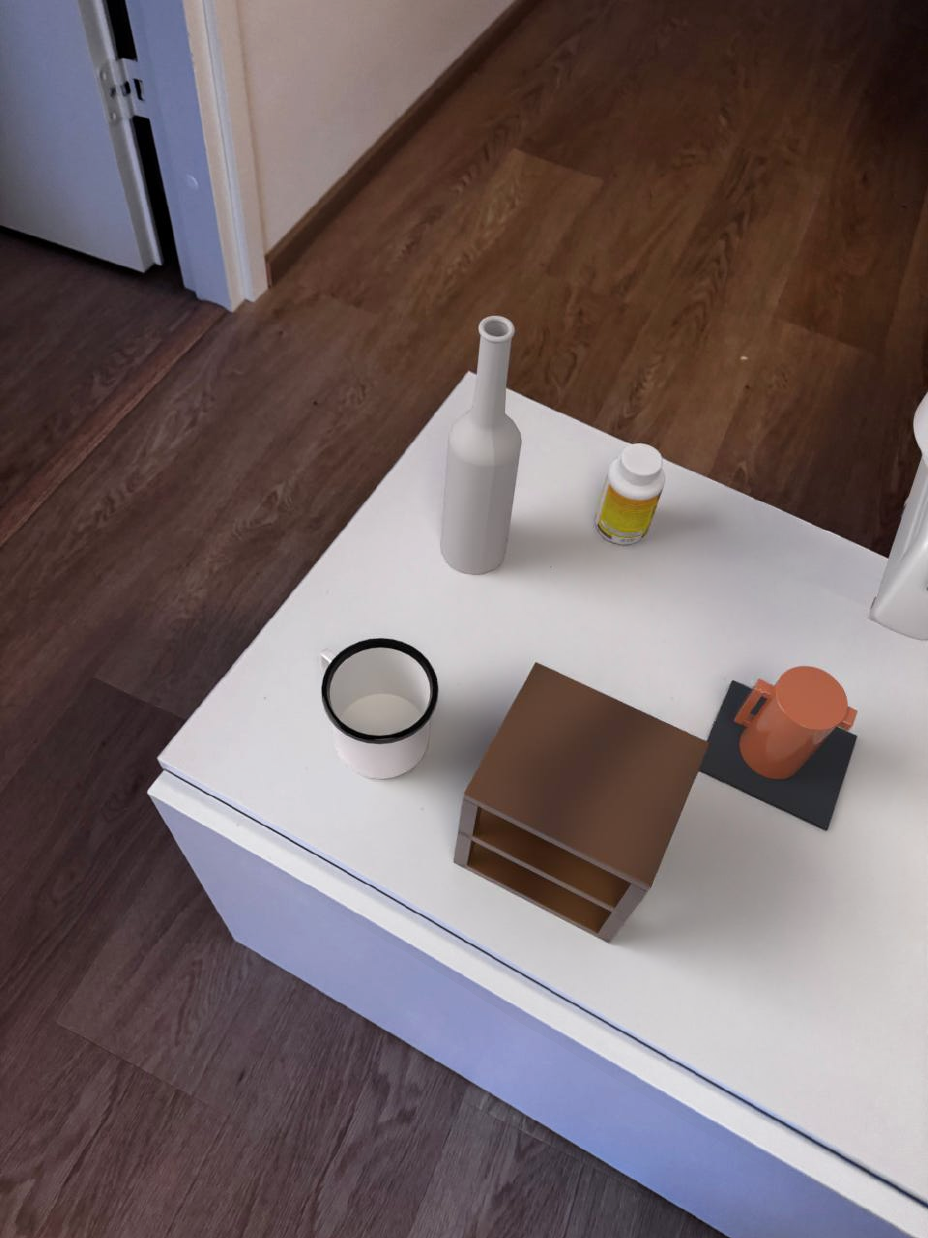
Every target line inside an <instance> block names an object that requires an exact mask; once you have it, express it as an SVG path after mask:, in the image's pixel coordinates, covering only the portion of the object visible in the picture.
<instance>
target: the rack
mask: <svg viewBox="0 0 928 1238" xmlns="http://www.w3.org/2000/svg"><path fill="white" fill-rule="evenodd" d="M708 746H709V742H707V740H705V739H703V738H701V737H699V736H696V735H694V734H692V733H690V732H688V731H686V730H683V729H681V728H679V727H677V726H675V725H672V724H670V723H668V722H666V721H664V720H662V719H660V718H658V717H655V716H653V715H651V714H649V713H647V712H644V711H643V710H640V709H638V708H636V707H635V706H632V705H629V704H628V703H624V702H623V701H621V700H619V699H617V698H615V697H613V696H610V695H608V694H606V693H603V692H602V691H599V690H597V689H595V688H593V687H592V686H589V685H586V684H585V683H583V682H581V681H578V680H576V679H574V678H571V677H570V676H567V675H566V674H563V673H561V672H559V671H557V670H555V669H552V668H550V667H548V666H546V665H544V664H542V663H540V662H537V661H535V662H534V664H533V666H532V668H531V669H530V671H529V673H528V675H527V676H526V679H525V680H524V682H523V683H522V685H521V688H520V689H519V691H518V693H517V695H516V697H515V698H514V700H513V702H512V704H511V706H510V708H509V709H508V711H507V713H506V715H505V717H504V719H503V720H502V722H501V723H500V726H499V728H498V729H497V732H496V733H495V735H494V737H493V738H492V740H491V743H490V744H489V745H488V748H487V750H486V752H485V753H484V755H483V757H482V759H481V760H480V762H479V764H478V766H477V768H476V769H475V772H474V773H473V774H472V777H471V779H470V781H469V782H468V784H467V786H466V788H465V790H464V791H463V797H462V803H461V808H460V815H459V820H458V821H459V822H458V828H457V835H456V841H455V847H454V854H453V860H452V861H453V863H454V864H455V865H457V866H459V867H460V868H462V869H465V870H466V871H468V872H471V873H473V874H474V875H477V876H478V877H479V878H482V879H484V880H486V881H488V882H490V883H492V884H494V885H495V886H497V887H499V888H501V889H504V891H506V892H509V893H511V894H512V895H515V896H517V897H518V898H521V899H523V900H524V901H526V902H528V903H530V904H532V905H534V906H536V907H538V908H540V909H541V910H544V911H545V912H547V913H550V914H551V915H553V916H555V917H557V918H559V919H560V920H563V921H565V922H567V923H568V924H571V925H573V926H574V927H576V928H578V929H580V930H582V931H584V932H585V933H588V934H590V935H592V936H594V937H596V938H597V939H599V940H601V941H603V942H605V943H607V944H611V942H612V941H613V940H614V938H615V937H616V936H617V934H618V933H619V932H620V930H621V929H622V927H624V925H625V924H626V922H627V921H628V919H629V918H630V917H631V915H632V914H633V912H634V911H635V910H636V909H637V907H638V906H639V904H640V903H641V902H642V900H643V899H644V898H645V896H647V893H648V892H649V891H650V889H651V888H652V886H653V883H654V882H655V879H656V876H657V874H658V872H659V868H660V866H661V864H662V862H663V859H664V857H665V855H666V852H667V849H668V847H669V844H670V842H671V840H672V837H673V834H674V832H675V830H676V827H677V825H678V822H679V820H680V817H681V815H682V812H683V810H684V807H685V805H686V803H687V800H688V798H689V795H690V793H691V791H692V788H693V785H694V783H695V781H696V778H697V776H698V773H699V772H700V771H699V769H700V766H701V764H702V761H703V759H704V756H705V754H706V751H707V749H708Z"/></svg>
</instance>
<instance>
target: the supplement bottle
mask: <svg viewBox="0 0 928 1238" xmlns="http://www.w3.org/2000/svg"><path fill="white" fill-rule="evenodd" d="M663 464H664V460H663V456H662V454H661V452H660V451H659V450H658V449H657V448H655V447H654V446H651V445H650V444H646V443H641V442H639V443H632V444H630V445H628V446H626V447H625V448H624V449H623V451H622V452H621V455H619V456H618V457H616V458H615V459H614V460H612V462H611V463H610V465H609V467H608V470H607V473H606V476H605V479H604V484H603V488H602V491H601V494H600V497H599V501H598V505H597V509H596V513H595V518H594V520H595V526H596V530H597V531H598V533H599V534H600V535H601V536H602V537H603V538H605V539H606V540H607V541H608V542H611V543H613V544H617V545H623V546H624V545H628V546H629V545H632V544H636V543H638V542H640V541H641V540H642V539H644V538H645V537H646V535H647V533H648V532H649V529H650V526H651V524H652V521H653V518H654V515H655V513H656V510H657V507H658V504H659V501H660V498H661V497H662V493H663V490H664V487H665V484H666V474H665V471H664V469H663Z"/></svg>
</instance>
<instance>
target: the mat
mask: <svg viewBox="0 0 928 1238" xmlns="http://www.w3.org/2000/svg"><path fill="white" fill-rule="evenodd" d="M752 688H753V687H750V686H747V685H746V684H743V683H741V682H739V681H737V680H734V679H732V680H731V681H730V683H729V686H728V688H727V690H726V693H725V696H724V697H723V700H722V703H721V705H720V708H719V710H718V713H717V714H716V717H715V720H714V723H713V725H712V727H711V730H710V732H709V734H708V737H707V739H706V741H707V742H709V746H708V749H707V751H706V754H705V756H704V759H703V761H702V764H701V766H700V769H699V771H698V772H700V773H702V774H703V775H706V776H709V777H711V778H713V779H714V780H716V781H719V782H721V783H723V784H725V785H727V786H730V787H731V788H733V789H735V790H738V791H740V792H742V793H744V794H746V795H749V796H751V797H753V798H755V799H757V800H758V801H761V802H763V803H765V804H768V805H770V806H771V807H774V808H776V809H777V810H780V811H782V812H785V814H786V813H787V814H788V815H790V816H793V817H795V818H798V819H799V820H802V821H804V822H806V823H808V824H810V825H812V826H814V827H815V828H818V829H821V830H822V831H825V832H827V831H828V830H829V829H830V824H831V822H832V819H833V815H834V812H835V809H836V806H837V803H838V799H839V796H840V793H841V791H842V790H841V789H842V787H843V783H844V780H845V778H846V775H847V771H848V768H849V764H850V762H851V758H852V755H853V752H854V749H855V746H856V742H857V740H858V735H856V734H854V733H853V732H850V731H849V730H848V731H847V730H845V729H843V728H840V727H838V726H837V727H836V728H835V730H834V731H833V732H832V733H831V734H830V735H829V736H828V738H827V739H826V740H825V741H824V742H823V743H822V744H821V746H820V747H819V748H818V749H817V750H816V751H815V752H814V754H813V755H812V756H811V757H810V758H809V759H808V761H807V762H806V763H805V764H804V765H803V766H802V767H801V769H800V770H799V771H798V772H797V773H796V774H794V775H793V776H791V777H788V778H784V779H771V778H767V777H764V776H762V775H760V774H758V773H757V772H755V771H754V770H753V769H752V768H750V767H749V765H748V764H747V763H746V762H745V760H744V758H743V756H742V754H741V751H740V746H739V742H740V736H741V734H742V732H743V730H744V729H745V727H746V726H743V725H741V724H738V723H736V722H734V718H735V716H736V714H737V711H738V709H739V708H740V706H741V705H742V703H743V702H744V700H745V699H746V697H747V696H748V694H749V693H750V691H751V690H752ZM764 700H765V697H763V696H761V698H760V699H759V701H758V702H757V704H756V705H755V707H754V708H753V709H752V711H751V712H750V713H751V714H753V715H754V714H755V713H756V711H757V710H758V708H759V707H760V705H761V704H762V703H763V701H764Z"/></svg>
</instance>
